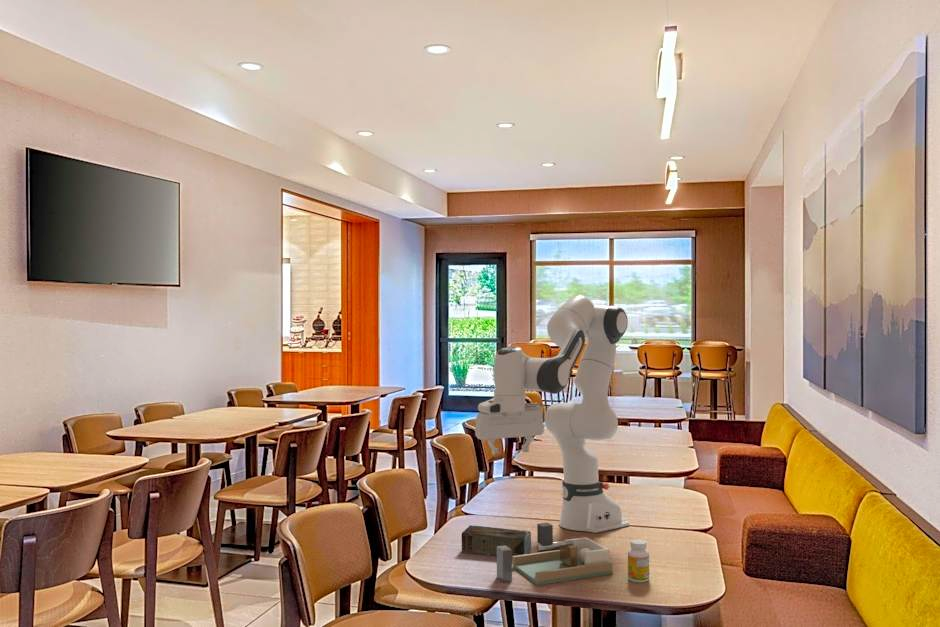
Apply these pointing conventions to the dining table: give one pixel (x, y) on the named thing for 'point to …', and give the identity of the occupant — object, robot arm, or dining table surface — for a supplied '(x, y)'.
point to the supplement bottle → (638, 561)
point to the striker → (556, 544)
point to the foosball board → (552, 570)
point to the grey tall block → (504, 563)
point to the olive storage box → (495, 540)
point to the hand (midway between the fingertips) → (510, 453)
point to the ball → (582, 554)
